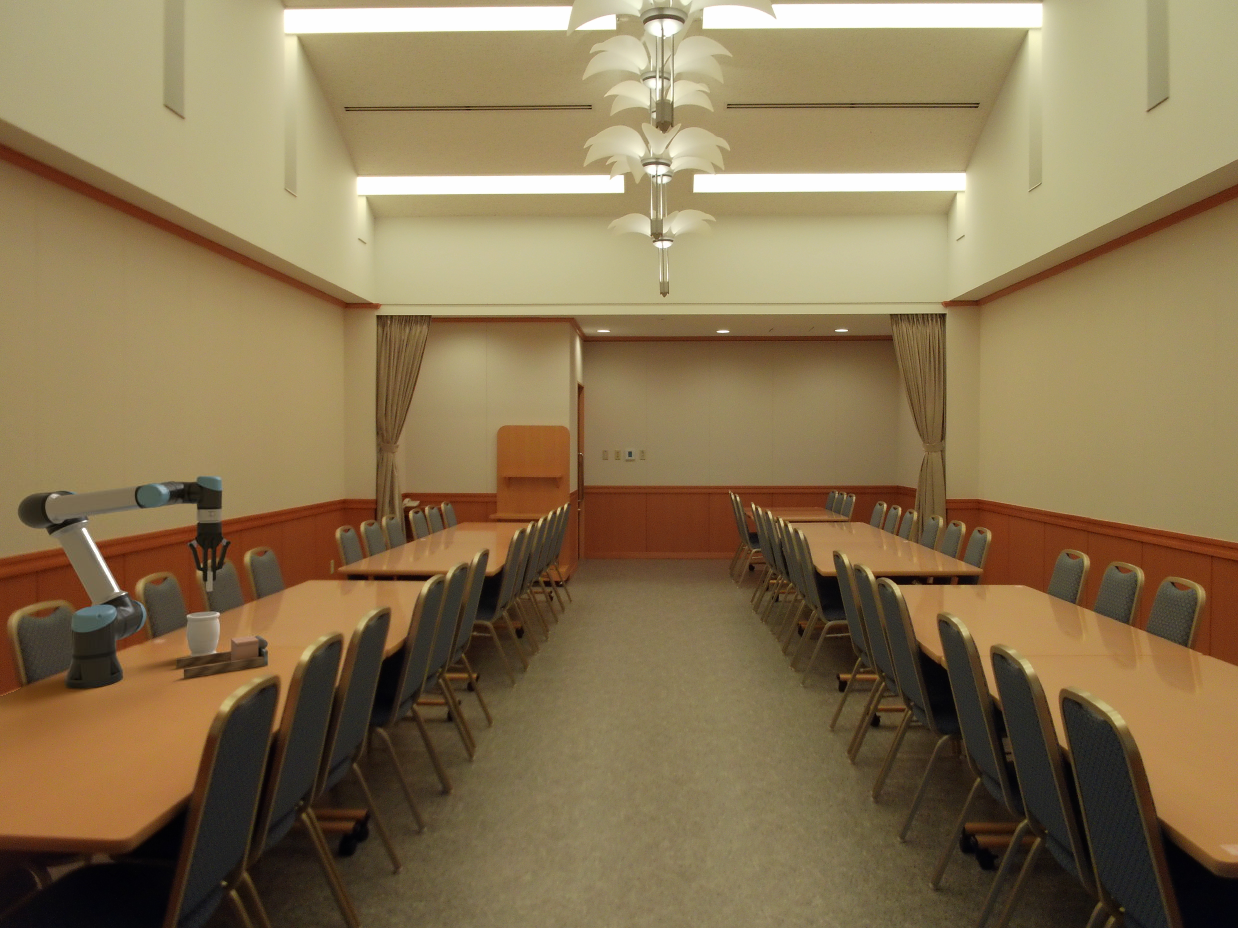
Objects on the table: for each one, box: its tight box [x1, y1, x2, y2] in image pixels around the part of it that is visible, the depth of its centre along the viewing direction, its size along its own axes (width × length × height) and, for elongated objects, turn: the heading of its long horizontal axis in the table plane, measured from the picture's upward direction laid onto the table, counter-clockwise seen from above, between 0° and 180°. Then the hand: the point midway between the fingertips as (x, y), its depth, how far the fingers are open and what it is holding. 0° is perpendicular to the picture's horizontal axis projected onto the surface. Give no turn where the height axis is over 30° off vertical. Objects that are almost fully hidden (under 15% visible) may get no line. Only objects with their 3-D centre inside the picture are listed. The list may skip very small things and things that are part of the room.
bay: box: [176, 635, 269, 679], centre depth 255 cm, size 26×16×8 cm, turn 129°
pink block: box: [230, 635, 259, 661], centre depth 259 cm, size 7×8×8 cm
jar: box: [185, 611, 221, 657], centre depth 268 cm, size 11×10×15 cm
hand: (209, 590), depth 252 cm, fingers closed
